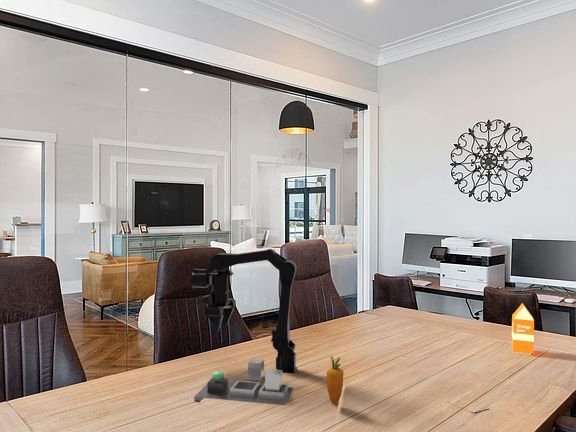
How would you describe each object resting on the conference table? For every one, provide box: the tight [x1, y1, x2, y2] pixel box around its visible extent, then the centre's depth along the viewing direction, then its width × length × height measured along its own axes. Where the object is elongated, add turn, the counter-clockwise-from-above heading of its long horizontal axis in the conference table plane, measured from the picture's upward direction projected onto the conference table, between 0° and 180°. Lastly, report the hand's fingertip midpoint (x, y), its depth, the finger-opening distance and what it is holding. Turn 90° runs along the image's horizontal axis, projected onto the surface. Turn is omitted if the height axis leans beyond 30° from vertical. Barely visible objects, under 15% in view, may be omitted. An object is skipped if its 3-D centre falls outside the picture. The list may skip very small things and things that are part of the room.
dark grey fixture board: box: [193, 377, 294, 406], centre depth 147 cm, size 28×14×4 cm, turn 79°
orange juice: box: [511, 302, 535, 354], centre depth 198 cm, size 8×9×20 cm
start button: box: [211, 370, 225, 380], centre depth 149 cm, size 4×4×2 cm
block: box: [264, 368, 283, 392], centre depth 145 cm, size 4×4×7 cm
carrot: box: [326, 355, 344, 405], centre depth 140 cm, size 5×5×15 cm
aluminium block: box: [247, 358, 265, 382], centre depth 160 cm, size 4×4×7 cm
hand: (220, 330), depth 173 cm, fingers open, 9 cm apart
